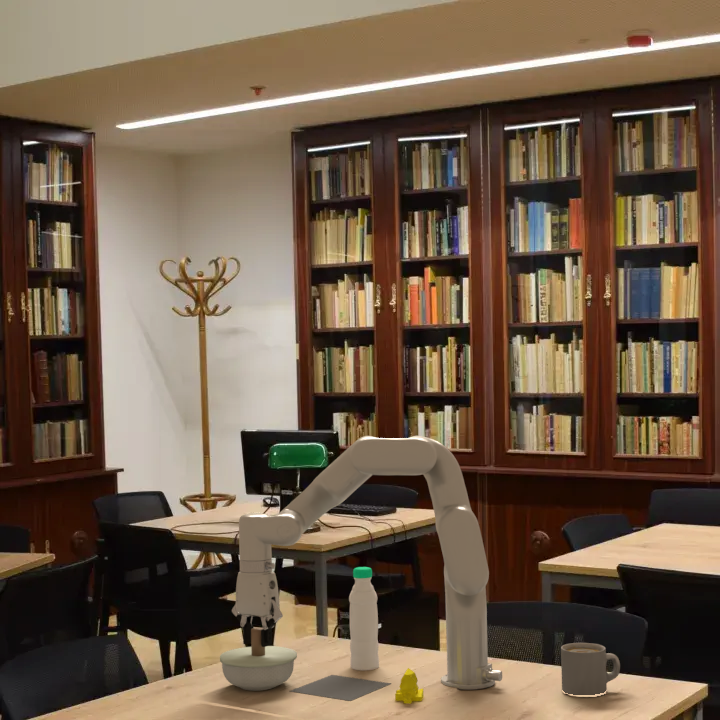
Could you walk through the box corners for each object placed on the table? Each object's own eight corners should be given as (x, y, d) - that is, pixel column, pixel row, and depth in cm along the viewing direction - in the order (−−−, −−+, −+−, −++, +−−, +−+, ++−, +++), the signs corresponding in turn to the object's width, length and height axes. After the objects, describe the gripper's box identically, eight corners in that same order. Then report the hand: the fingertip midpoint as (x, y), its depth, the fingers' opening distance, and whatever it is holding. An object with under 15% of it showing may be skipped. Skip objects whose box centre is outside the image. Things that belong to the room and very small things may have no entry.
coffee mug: (565, 698, 261) (564, 653, 262) (559, 686, 271) (557, 643, 272) (626, 697, 261) (625, 652, 261) (617, 685, 271) (616, 642, 271)
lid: (312, 654, 279) (311, 625, 279) (264, 670, 264) (263, 640, 264) (252, 646, 289) (252, 618, 289) (203, 661, 274) (203, 632, 274)
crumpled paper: (424, 697, 266) (423, 662, 266) (420, 706, 258) (419, 671, 258) (398, 696, 267) (397, 662, 267) (394, 706, 259) (393, 670, 259)
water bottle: (376, 672, 288) (373, 570, 288) (347, 672, 289) (345, 570, 290) (381, 665, 295) (379, 565, 295) (353, 665, 296) (351, 565, 297)
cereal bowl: (309, 686, 277) (308, 656, 277) (256, 701, 265) (255, 670, 265) (260, 675, 288) (259, 646, 289) (207, 689, 276) (207, 659, 276)
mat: (391, 686, 275) (391, 683, 275) (350, 703, 261) (350, 700, 261) (332, 677, 285) (332, 674, 285) (289, 693, 271) (289, 691, 271)
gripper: (294, 566, 275) (296, 645, 275) (238, 562, 285) (239, 637, 285) (274, 571, 269) (276, 651, 269) (217, 566, 279) (219, 643, 278)
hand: (257, 643), depth 277 cm, fingers open, 4 cm apart
